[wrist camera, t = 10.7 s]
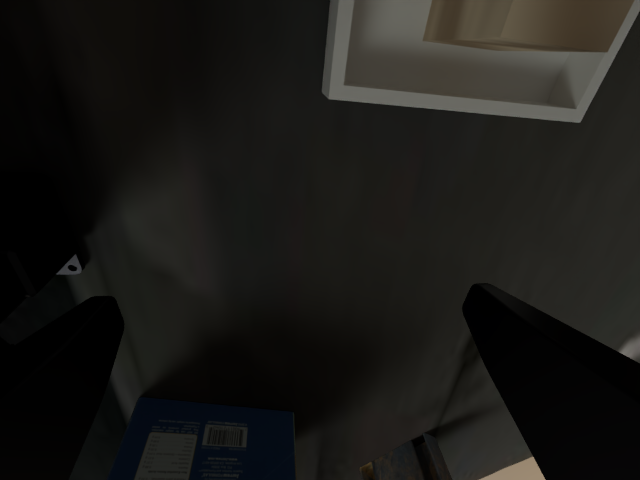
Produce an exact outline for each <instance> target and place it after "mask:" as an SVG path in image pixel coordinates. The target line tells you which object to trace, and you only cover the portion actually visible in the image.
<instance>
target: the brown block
mask: <svg viewBox="0 0 640 480" xmlns="http://www.w3.org/2000/svg"><path fill="white" fill-rule="evenodd" d="M633 2H634V0H432V3H431V7H430V11H429V15H428V20H427V24H426V28H425V32H424V37H423V41H427V42H434V43H442V44H449V45H457V46H464V47H472V48H479V49H487V50H494V51H540V52H606V53H607V52H608V51H609V49H610V47H611V45H612V43H613V41H614V39H615V37H616V35H617V33H618V31H619V29H620V27H621V25H622V24H623V22H624V20H625V18H626V16H627V14H628V12H629V10H630V8H631V6H632V4H633Z"/></svg>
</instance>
